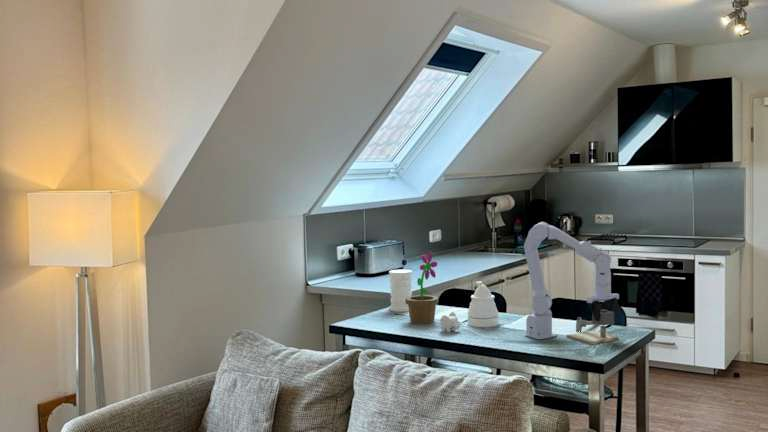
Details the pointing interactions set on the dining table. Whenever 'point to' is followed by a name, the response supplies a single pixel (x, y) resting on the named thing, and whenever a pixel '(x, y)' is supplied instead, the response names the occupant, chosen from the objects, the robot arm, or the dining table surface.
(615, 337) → the post board
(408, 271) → the decorative container
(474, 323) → the honey pot
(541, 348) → the dining table surface
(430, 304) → the flowerpot
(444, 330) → the elephant figurine
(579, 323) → the caliper
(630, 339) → the dining table surface
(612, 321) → the collar
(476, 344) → the dining table surface
